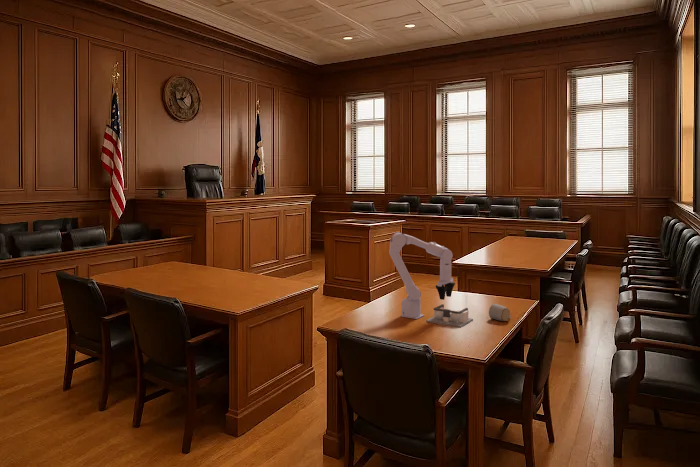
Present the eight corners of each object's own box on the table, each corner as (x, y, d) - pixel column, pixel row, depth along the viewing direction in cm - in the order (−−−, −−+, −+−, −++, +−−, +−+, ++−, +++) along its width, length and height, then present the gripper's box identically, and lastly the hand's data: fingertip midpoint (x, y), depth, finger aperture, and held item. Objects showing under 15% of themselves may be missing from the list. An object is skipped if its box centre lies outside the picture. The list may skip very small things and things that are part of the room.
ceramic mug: (502, 323, 248) (502, 307, 247) (488, 319, 254) (488, 304, 253) (514, 319, 254) (515, 304, 254) (500, 316, 261) (501, 301, 260)
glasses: (459, 322, 245) (459, 312, 244) (433, 317, 253) (433, 308, 253) (467, 317, 253) (467, 307, 252) (442, 313, 261) (442, 303, 261)
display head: (460, 327, 241) (460, 316, 241) (426, 321, 252) (426, 310, 251) (473, 320, 253) (473, 309, 253) (439, 315, 264) (440, 304, 263)
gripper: (446, 274, 251) (446, 301, 253) (458, 270, 263) (458, 296, 265) (433, 273, 256) (433, 299, 257) (446, 269, 267) (446, 294, 269)
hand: (445, 297), depth 261 cm, fingers open, 7 cm apart
